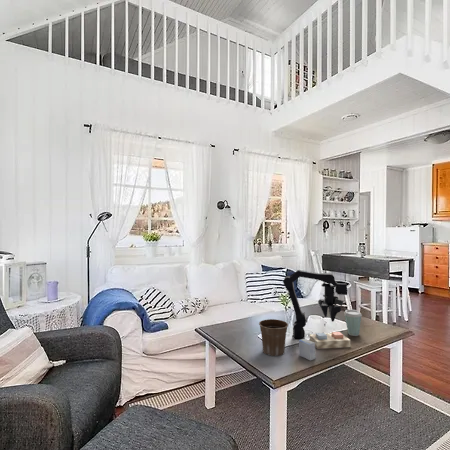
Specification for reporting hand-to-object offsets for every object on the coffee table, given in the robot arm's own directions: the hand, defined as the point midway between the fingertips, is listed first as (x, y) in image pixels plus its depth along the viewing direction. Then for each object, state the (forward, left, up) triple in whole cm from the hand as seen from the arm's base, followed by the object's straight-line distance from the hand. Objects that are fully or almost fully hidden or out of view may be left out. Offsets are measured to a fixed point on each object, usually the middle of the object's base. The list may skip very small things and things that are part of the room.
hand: (329, 319), depth 188 cm
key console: (-2, -5, -13) cm, 14 cm away
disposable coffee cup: (+20, +8, -14) cm, 25 cm away
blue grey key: (-7, -5, -10) cm, 13 cm away
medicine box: (-22, -21, -14) cm, 34 cm away
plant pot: (-38, -12, -14) cm, 42 cm away
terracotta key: (+3, -5, -10) cm, 12 cm away
